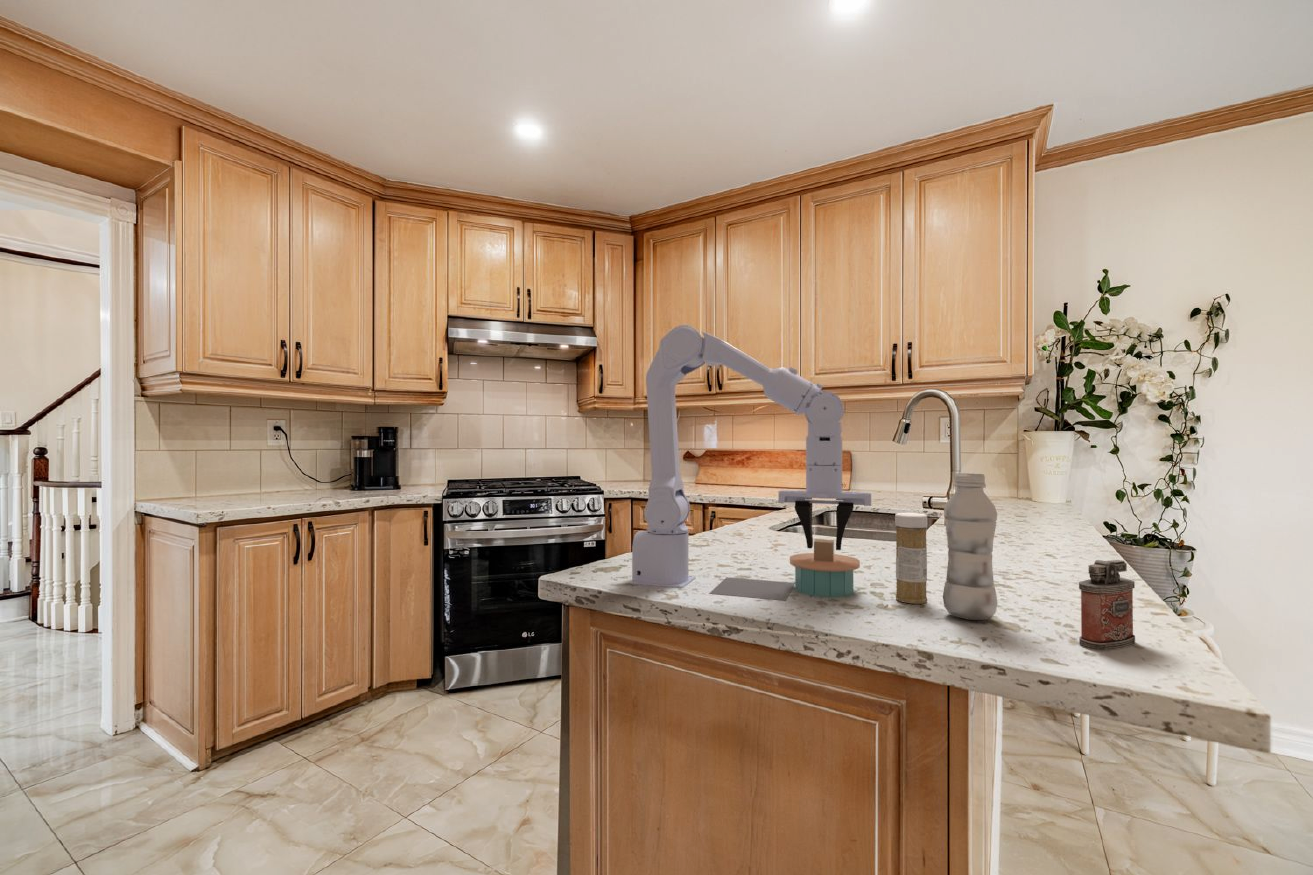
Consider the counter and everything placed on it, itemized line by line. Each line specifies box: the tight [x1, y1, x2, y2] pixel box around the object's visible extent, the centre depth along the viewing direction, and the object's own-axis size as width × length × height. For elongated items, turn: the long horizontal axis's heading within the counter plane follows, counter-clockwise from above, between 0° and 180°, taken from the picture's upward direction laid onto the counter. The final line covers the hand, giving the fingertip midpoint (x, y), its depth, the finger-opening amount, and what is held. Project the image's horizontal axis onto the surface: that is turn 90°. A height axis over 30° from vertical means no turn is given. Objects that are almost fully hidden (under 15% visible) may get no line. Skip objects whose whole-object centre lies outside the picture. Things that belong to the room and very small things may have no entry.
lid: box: [789, 538, 861, 572], centre depth 95 cm, size 11×11×4 cm
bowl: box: [794, 566, 854, 598], centre depth 95 cm, size 9×9×4 cm
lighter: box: [1078, 559, 1136, 652], centre depth 70 cm, size 8×3×10 cm, turn 114°
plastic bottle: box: [942, 472, 998, 621], centre depth 81 cm, size 6×7×20 cm
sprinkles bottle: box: [894, 512, 928, 605], centre depth 90 cm, size 5×5×14 cm
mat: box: [708, 576, 795, 602], centre depth 96 cm, size 12×12×1 cm
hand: (824, 548), depth 95 cm, fingers open, 4 cm apart
